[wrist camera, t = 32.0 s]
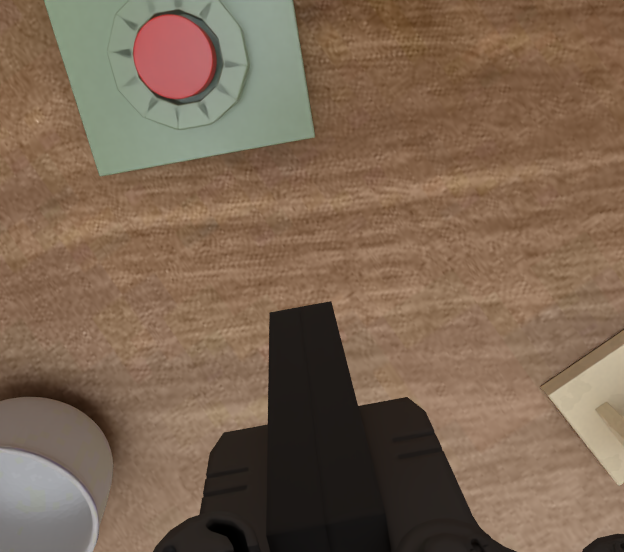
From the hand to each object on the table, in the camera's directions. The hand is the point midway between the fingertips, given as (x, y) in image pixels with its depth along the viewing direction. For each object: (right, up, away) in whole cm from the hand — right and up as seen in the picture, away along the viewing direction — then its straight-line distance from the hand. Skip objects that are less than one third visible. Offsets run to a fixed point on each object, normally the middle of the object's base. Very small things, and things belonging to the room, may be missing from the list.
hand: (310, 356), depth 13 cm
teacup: (-18, -11, +25) cm, 33 cm away
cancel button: (-6, +13, +13) cm, 19 cm away
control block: (-7, +14, +16) cm, 22 cm away
